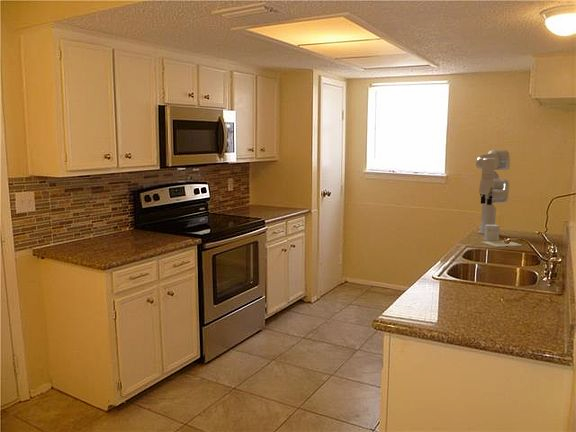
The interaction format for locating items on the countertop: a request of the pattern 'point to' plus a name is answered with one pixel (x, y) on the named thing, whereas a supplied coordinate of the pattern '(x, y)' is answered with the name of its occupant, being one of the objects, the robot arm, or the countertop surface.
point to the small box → (491, 233)
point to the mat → (500, 244)
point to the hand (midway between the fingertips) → (486, 203)
